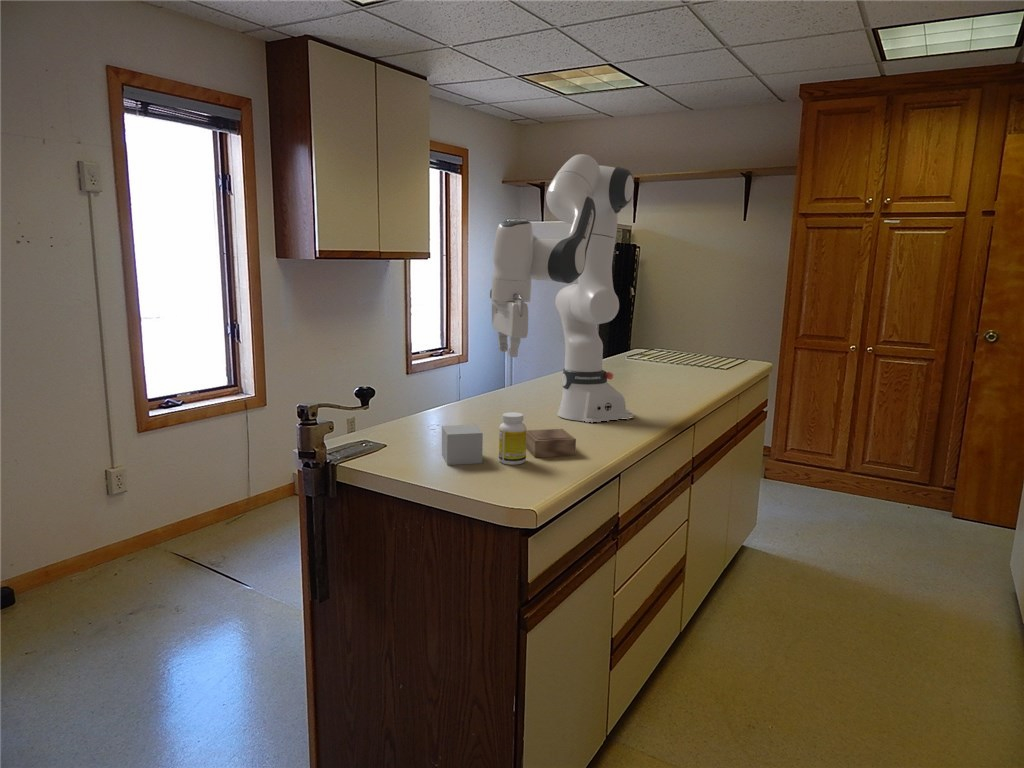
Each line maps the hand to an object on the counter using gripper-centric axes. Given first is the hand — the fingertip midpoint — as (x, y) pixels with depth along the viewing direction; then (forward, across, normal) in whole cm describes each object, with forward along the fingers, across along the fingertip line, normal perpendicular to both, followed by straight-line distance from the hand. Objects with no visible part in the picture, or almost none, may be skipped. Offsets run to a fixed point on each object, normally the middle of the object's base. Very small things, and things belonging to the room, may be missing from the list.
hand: (507, 353), depth 152 cm
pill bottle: (+24, -5, -1) cm, 25 cm away
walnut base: (+24, +2, -12) cm, 27 cm away
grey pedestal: (+24, -1, +10) cm, 26 cm away
